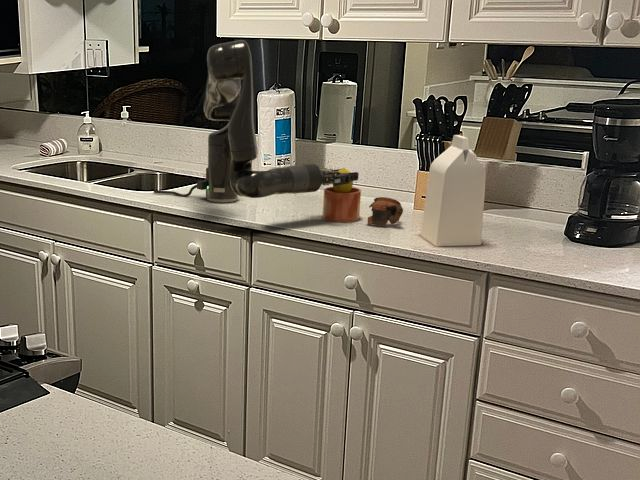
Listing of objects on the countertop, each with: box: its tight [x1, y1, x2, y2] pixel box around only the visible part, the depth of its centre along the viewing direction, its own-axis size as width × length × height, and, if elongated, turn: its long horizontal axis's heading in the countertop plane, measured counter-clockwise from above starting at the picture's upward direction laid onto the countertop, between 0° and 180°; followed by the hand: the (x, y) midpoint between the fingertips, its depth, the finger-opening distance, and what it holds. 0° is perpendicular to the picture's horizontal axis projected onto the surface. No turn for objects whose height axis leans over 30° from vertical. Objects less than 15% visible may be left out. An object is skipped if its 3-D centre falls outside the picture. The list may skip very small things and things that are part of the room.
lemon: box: [332, 167, 354, 193], centre depth 260 cm, size 6×6×8 cm
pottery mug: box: [366, 196, 404, 228], centre depth 256 cm, size 12×10×8 cm
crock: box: [321, 186, 362, 223], centre depth 263 cm, size 10×10×8 cm
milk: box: [419, 134, 487, 247], centre depth 235 cm, size 12×12×26 cm
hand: (350, 174), depth 261 cm, fingers closed on lemon, 5 cm apart
